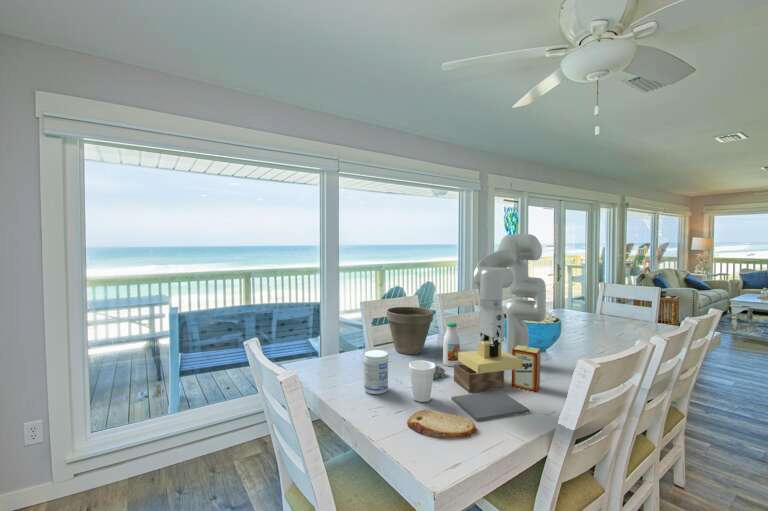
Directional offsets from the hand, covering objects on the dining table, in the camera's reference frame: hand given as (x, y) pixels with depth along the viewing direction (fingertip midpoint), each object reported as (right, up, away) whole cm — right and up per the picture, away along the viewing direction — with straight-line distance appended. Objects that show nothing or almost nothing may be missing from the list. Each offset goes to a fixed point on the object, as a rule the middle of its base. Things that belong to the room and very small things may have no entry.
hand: (489, 354), depth 130 cm
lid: (0, -4, 0) cm, 4 cm away
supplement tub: (-41, -18, +14) cm, 47 cm away
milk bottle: (-6, -17, +44) cm, 48 cm away
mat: (0, -19, +1) cm, 19 cm away
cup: (-24, -19, +6) cm, 31 cm away
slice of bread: (-20, -20, -14) cm, 31 cm away
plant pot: (-24, -16, +66) cm, 72 cm away
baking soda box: (+20, -18, +18) cm, 32 cm away
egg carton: (-17, -18, +29) cm, 38 cm away
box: (+1, -18, +20) cm, 27 cm away
